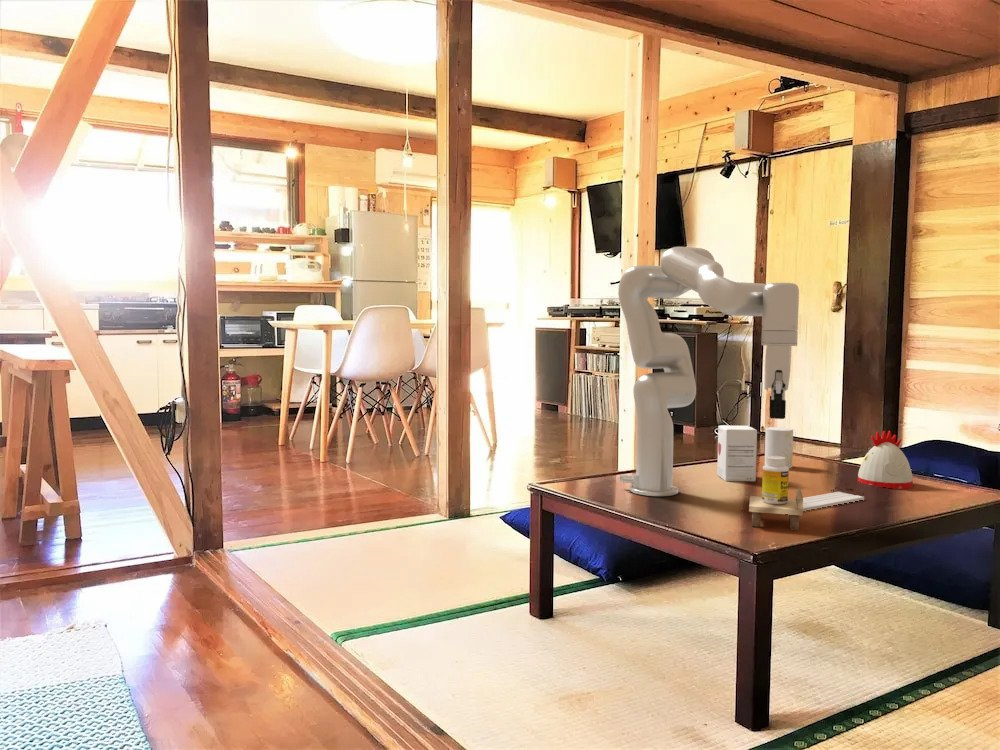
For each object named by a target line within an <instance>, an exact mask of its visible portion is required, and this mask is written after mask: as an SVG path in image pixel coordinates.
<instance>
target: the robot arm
mask: <svg viewBox="0 0 1000 750" xmlns="http://www.w3.org/2000/svg"><path fill="white" fill-rule="evenodd" d="M724 275H725V272H724V268H723V266H722V265H721V264H720V263H719V262H717V261H715V258H714V256H713V254H712V253H711V252H710V251H708V250H707V249H705V248H701V247H692V246H691V247H690V246H673V247H671V248H669V249H667V250H665V251H664V253H663V254H662V255H661V257H660V261H659V265H650V264H643V265H642V264H641V265H635V266H631V267H629V268H628V269H626V270H625V271H624V272H623V274H622V276H621V278H620V280H619V284H618V293H617V294H618V301H619V304H620V308H621V310H622V313H623V316H624V318H625V323H626V329H627V335H628V339H629V344H630V350H631V354H632V355H631V356H632V358H633V362H634V364H635V365H636V366H637V367H638V368H641V369H647V370H650V369H654V370H655V369H663V371H664V372H663V371H662V372H650V373H645V374H643V375H641V376H640V377H638V378H637V380H635V383H634V384H633V399H634V404H635V411H636V412H635V413H636V458H635V459H636V462H635V463H636V465H635V469H636V470H635V473H632V474H631V475H628V474H620V475H619V482H620V483H621V482H622V483H625V484H629V483H630V484H631V485H630V486H629V490H630V492H632V493H633V494H635V495H641V496H647V497H671V496H674V495H675V496H676V495H678V493H679V487H677V486H676V485H673V483H674V482H673V475H674V472H673V471H674V470H673V468H674V467H673V466H674V465H673V464H674V423H673V420H672V416H671V415H670V412H669V410H668V409H675V408H684V407H687V406H690V405H691V404H692V403H693V402H694V400H695V399H696V394H697V385H696V379H695V373H694V369H693V363H692V359H691V353H690V349H689V346H688V344H687V342H686V341H685V339H684V338H683V337H682V336H681V335H679V334H677V333H673V332H662V329H661V325H660V321H659V317H658V314H657V312H656V310H655V308H654V307H653V305H652V304H651V303H650V302H649V301H648V299H649V298H650V299H674V298H678V297H680V296H682V295H684V294H685V293H687V292H689V291H691V290H692V291H694V292H696V293H697V294H698V296H699V298H700V300H701V301H702V302H703V303H704V304H705V305H708V306H709V307H711V308H713V309H714V310H716V311H719V312H721V313H722V314H724V315H728V316H731V317H732V316H733V317H743V316H744V317H762V318H761V346H766V347H765V356H764V357H765V361H764V390H765V391H768V390H769V389H770V395H769V408H768V409H769V418H770V419H774V420H775V419H777V420H778V419H779V420H784V419H786V409H787V408H786V407H787V405H786V404H787V403H786V402H787V401H786V400H785V399H786V394H785V393H786V391H787V390H789V384H790V376H791V364H792V347H797V346H798V333H799V306H800V305H799V304H800V303H799V302H800V300H799V299H800V289H799V286H798V285H797V284H796V283H793V282H771V283H760V282H759V283H758V282H757V283H756V282H739V281H738V282H736V281H733V280H731V279H728V278H726V277H724Z"/></svg>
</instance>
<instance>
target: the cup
mask: <svg viewBox="0 0 1000 750" xmlns="http://www.w3.org/2000/svg"><path fill="white" fill-rule="evenodd" d="M793 442H794V429H793V428H791V427H782V426H781V427H780V426H772V427H771V426H769V427H765V441H764V447H765V448H764V465H767V462H766V461H767V457H768V456H781V457H785V462H786V463H785V466H787V467H788V468H791V467H792V468H793V456H794V455H793V452H794V451H793V450H794V448H793V446H794V443H793ZM792 468H791V469H792Z"/></svg>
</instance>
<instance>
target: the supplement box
mask: <svg viewBox="0 0 1000 750" xmlns="http://www.w3.org/2000/svg"><path fill="white" fill-rule="evenodd" d="M757 442H758V430H757V429H755V428H754V427H752V426H750V425H727V424H723V425H718V426H717V467H716V468H717V473H716V475H717V476H718V477H719V478H721V480H723V481H725V482H756V480H757V479H756V478H757V447H758V443H757Z"/></svg>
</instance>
